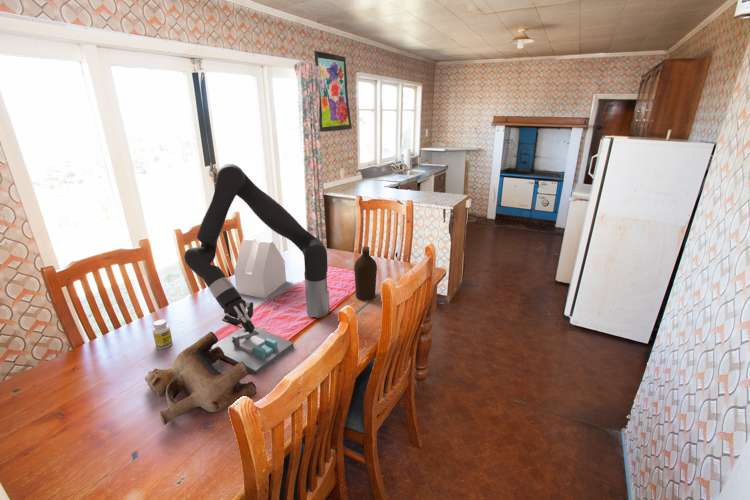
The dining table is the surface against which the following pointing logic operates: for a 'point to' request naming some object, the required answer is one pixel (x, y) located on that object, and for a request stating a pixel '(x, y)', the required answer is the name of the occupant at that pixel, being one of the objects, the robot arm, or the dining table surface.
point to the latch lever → (252, 333)
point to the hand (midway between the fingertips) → (252, 331)
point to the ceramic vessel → (199, 380)
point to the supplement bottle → (162, 334)
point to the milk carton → (259, 268)
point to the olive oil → (365, 276)
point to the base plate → (253, 349)
